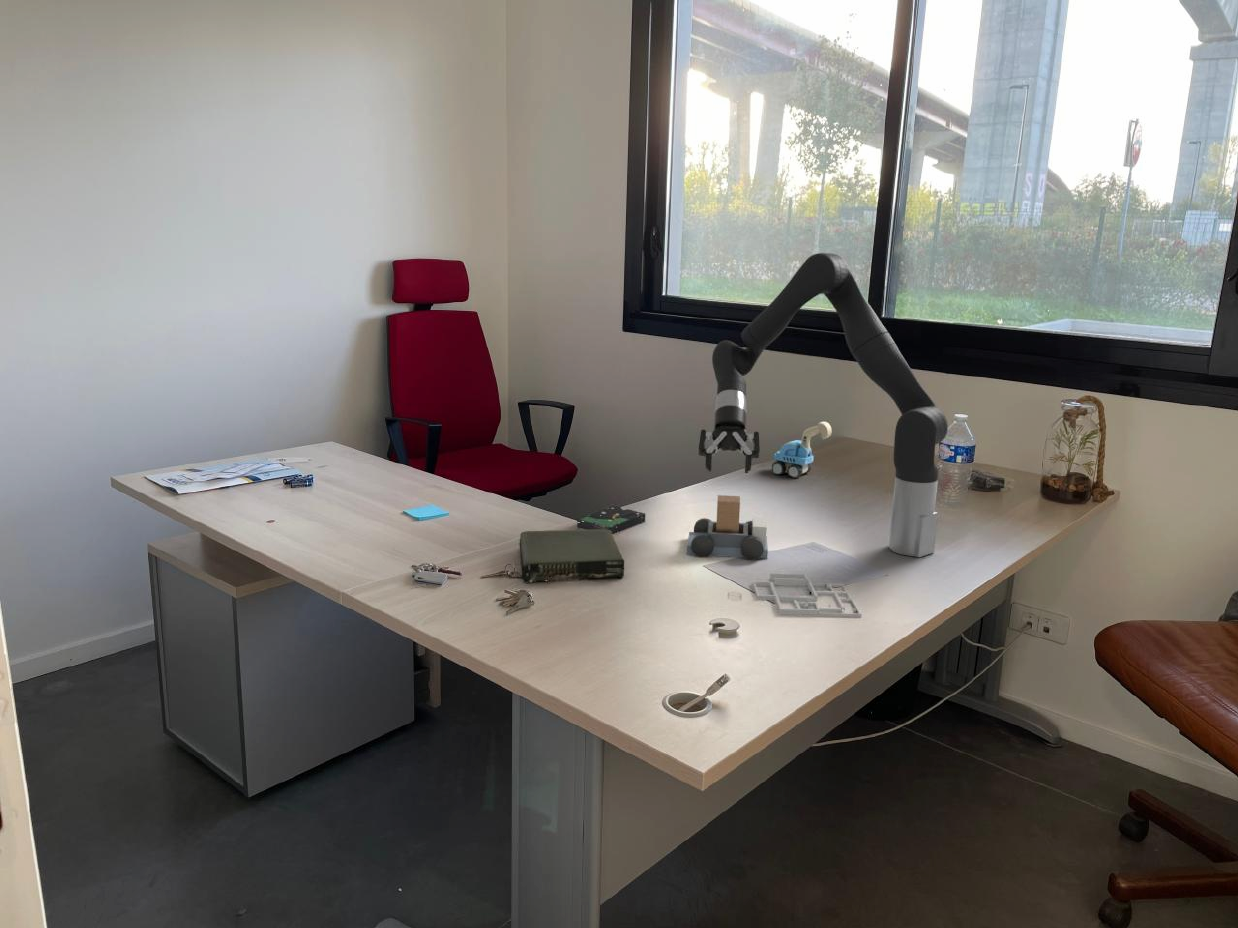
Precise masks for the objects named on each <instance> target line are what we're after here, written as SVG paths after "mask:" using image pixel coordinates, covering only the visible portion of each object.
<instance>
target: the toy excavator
mask: <svg viewBox="0 0 1238 928" xmlns="http://www.w3.org/2000/svg"><path fill="white" fill-rule="evenodd" d="M832 432H833V431H832V426H831V425H830V423H829V422H827V421H821V422H818V423H817V425H815V426H811V427H809V428H807V429H805V430H804V431H803V433H802V435H801V439H800V440H799V439H796V440H792V441H789V442H786V443H785V444H782V446H781V448H780V450H778V451H776V452H775V453H774V456H773V459H774V460H775V462H773V463H772V464H771V472H772V473H773V474H774V475H782V474H785V473H787V474H788V477H792V479H797V478H799V477H801V476H802V475H806V474H808V473H810V471H811V470H812V463H813V462H814V459H815V457H814V454H813V453H812V452H813V450H812V449H813V448H811V438H812V437H813V436H815V435H817V434H819V433H820V435H821V439H822V440H826V439H827V438H830V437H831V435H832Z"/></svg>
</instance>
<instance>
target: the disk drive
mask: <svg viewBox="0 0 1238 928" xmlns="http://www.w3.org/2000/svg"><path fill="white" fill-rule="evenodd" d="M600 515H601V516H600ZM582 521H584V522H582ZM577 522H580V523H577ZM645 522H646V513H645V512H640V511H636V510H633V509H629V508H627V509H622V507H620V506H617V505H613V506H609V507H607V508H604V509H601V510H598V511H596V512H593V513H590V514H588V515H584V516H582V517H579V518H577V521H576V523H577V525H576V526H577V529H580V530H591V529H605V530H610V531H612V534H613V535H615V533H616V534H618V533H620V532H624V531H625V530H628V529H631V528H633V527H635V526H638V525H640V524H643V523H645ZM617 532H618V533H617Z"/></svg>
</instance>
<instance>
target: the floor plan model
mask: <svg viewBox="0 0 1238 928" xmlns="http://www.w3.org/2000/svg"><path fill="white" fill-rule="evenodd" d="M772 581H773V582H774V583H773V582H772ZM751 585H752V588H753V590H755V591H754V593H755V597H756V600H757V601H758V600H759V601H760V600H761V601H774V603H775V606H776V608H777V611H778V614H779V616H807V617H808V616H810V617H811V616H812V617H813V616H815V617H816V616H817V617H818V616H819V617H836V618H837V617H839V618H842V617H843V618H862V612H861V610H860V608H859V607H858V605H857V603H856V601H855V600H854V598H853V597H851V596H850V593H849V592H848V590H847V588H846V587H845V584H844V583H830V582H829V583H824V582H822V583H820V582H819V583H817V582H816V583H815V582H812V581H811V579H810V580H809V578H808V577H807V574H806V573H789V572H787V573H784V572H783V573H779V572H776V573H775V572H769V580H752V584H751ZM775 586H794V587H795V586H796V587H797V586H798V587H799V586H801V587H803V586H804V587H805V586H807V590H808V591H809V596H803V595H802V596H800V595H799V596H798V595H790V594H789V595H778V594H777V591H776V589H775ZM758 587H769V588H770V590H772V591H771V593H773V594H760V593H759V591H758ZM815 587H826V589H827V590H823V589H821V590H815ZM836 587H837V588H838V587H841V588H842V589H843V591H842V590H841V591H838V590H836V591H835V590H834V588H836ZM802 591H805V590H804V589H802ZM811 595H812V596H811ZM818 596H832V597H834V599H835V600H836V603H837V604H838V606H839V607H831V605H828V607H819V604H818ZM840 596H847V598H845V597H840ZM782 603H793V606H794V608H785V607H784V608H783V606H782ZM844 603H850V605H851V607H852V608H853V613H852V612H850V613H848V612H845V610H846V607H845V605H844Z"/></svg>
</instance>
